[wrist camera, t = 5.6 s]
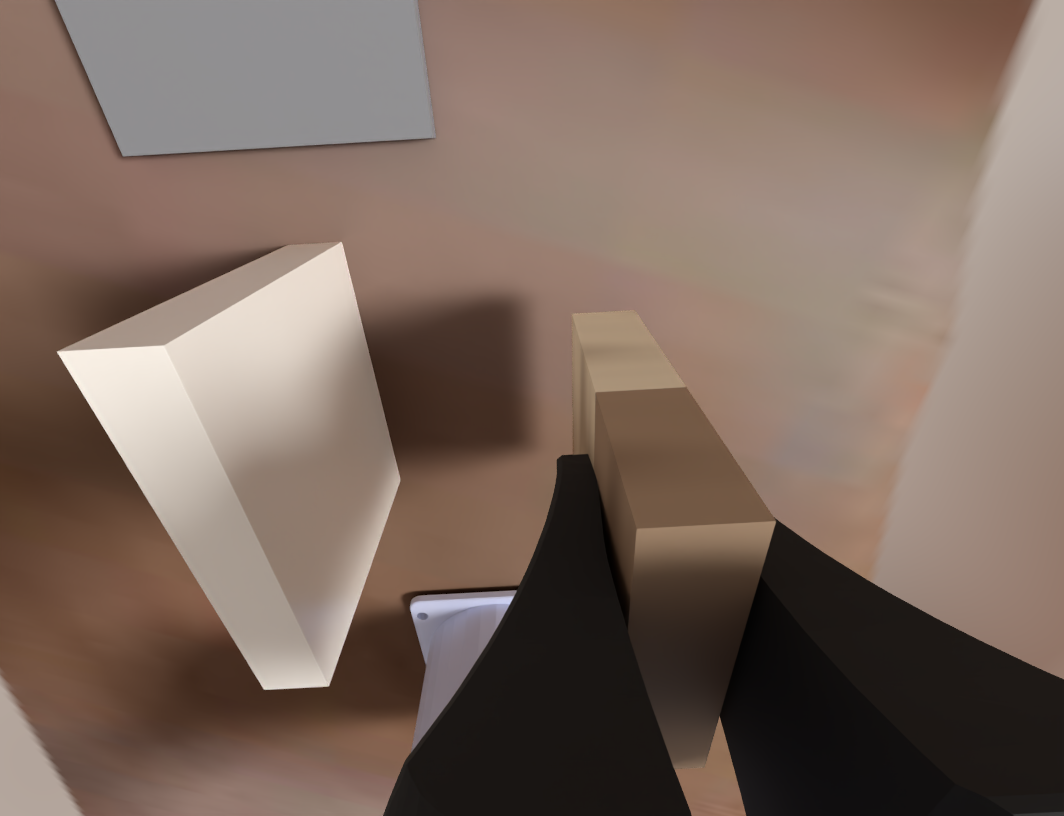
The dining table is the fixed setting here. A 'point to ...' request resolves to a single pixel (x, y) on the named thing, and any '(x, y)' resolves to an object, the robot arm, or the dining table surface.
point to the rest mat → (253, 72)
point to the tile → (257, 448)
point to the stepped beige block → (667, 523)
